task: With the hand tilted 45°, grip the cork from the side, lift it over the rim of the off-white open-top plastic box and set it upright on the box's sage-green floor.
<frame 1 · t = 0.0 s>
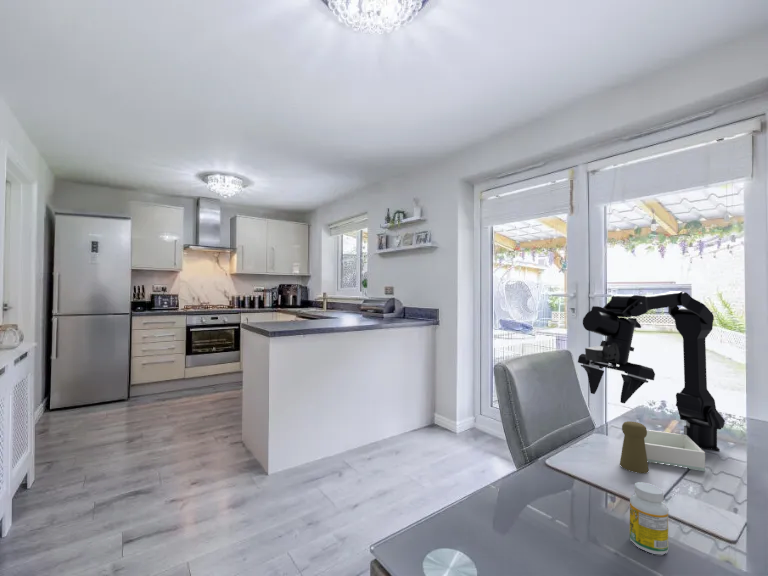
hand: (606, 398, 99), 15 cm above the table, tool pointing down, fingers open, 9 cm apart
open box: (664, 455, 100), on the table
cork: (634, 468, 93), on the table
supplement bottle: (648, 546, 63), on the table
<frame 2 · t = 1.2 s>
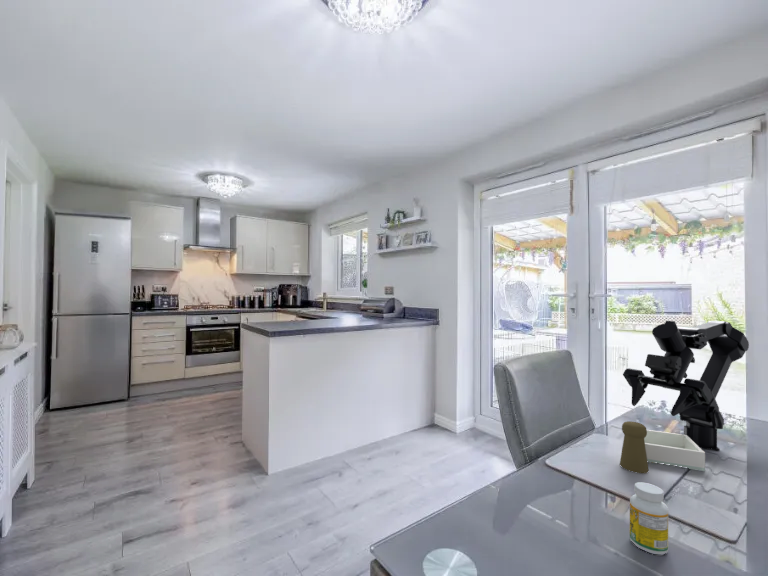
hand: (651, 409, 96), 13 cm above the table, tool tilted 45°, fingers open, 9 cm apart
nothing on the table moved.
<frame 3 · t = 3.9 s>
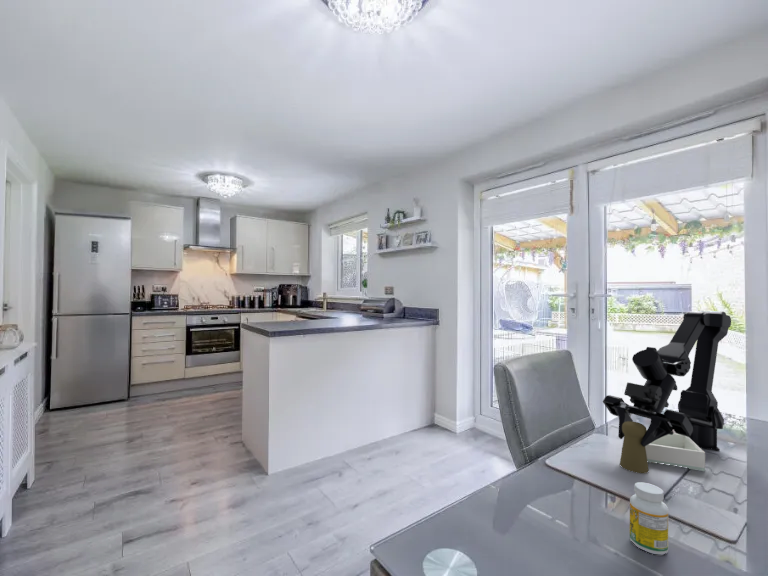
hand: (630, 441, 92), 7 cm above the table, tool tilted 45°, fingers closed on cork, 5 cm apart
cork: (634, 468, 93), on the table, touching gripper
everything else where it was.
when the fingers open (9 cm above the table, at t = 7.7 s): cork drops 2 cm, resting on open box.
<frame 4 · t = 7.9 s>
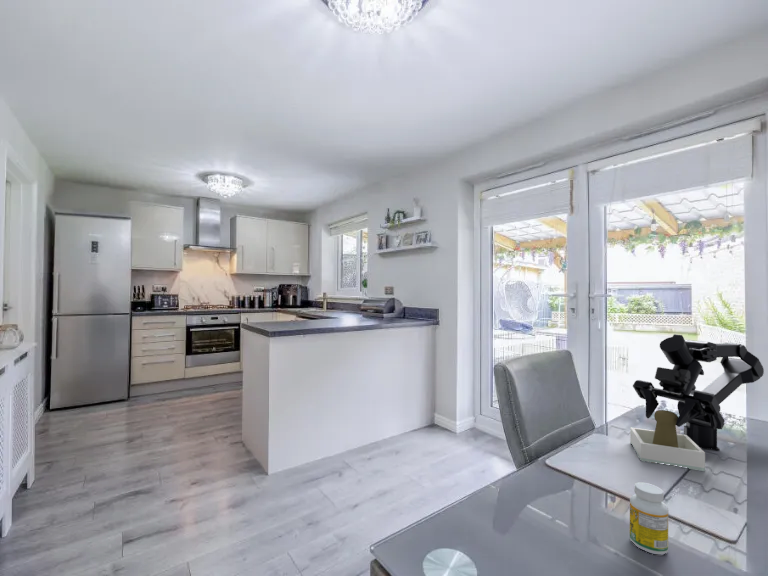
hand: (661, 421, 100), 9 cm above the table, tool tilted 45°, fingers open, 7 cm apart
cork: (665, 453, 100), point 1 cm above the table, touching open box
everything else where it was.
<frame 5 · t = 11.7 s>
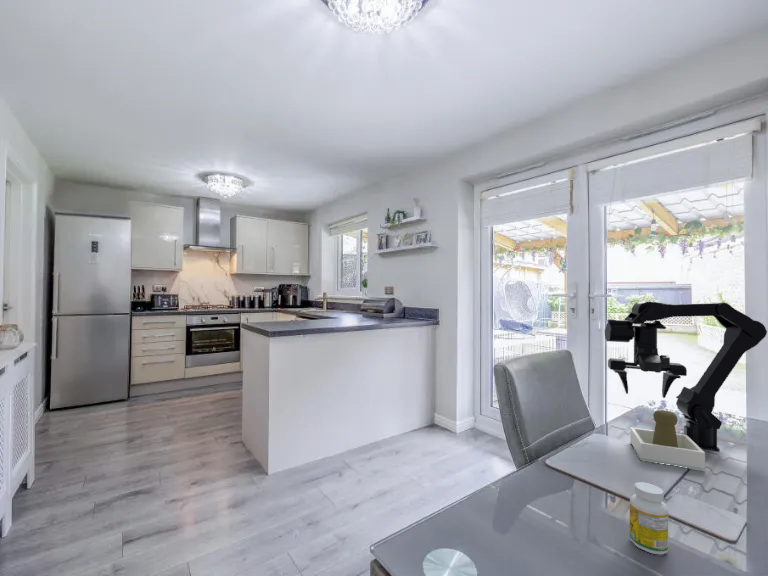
hand: (645, 395, 112), 13 cm above the table, tool pointing down, fingers open, 9 cm apart
nothing on the table moved.
at the end: cork inside the target area on the open box (0.3 cm from its centre), point 0.6 cm above the open box's base; cork tilted 0°; the gripper is holding nothing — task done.
